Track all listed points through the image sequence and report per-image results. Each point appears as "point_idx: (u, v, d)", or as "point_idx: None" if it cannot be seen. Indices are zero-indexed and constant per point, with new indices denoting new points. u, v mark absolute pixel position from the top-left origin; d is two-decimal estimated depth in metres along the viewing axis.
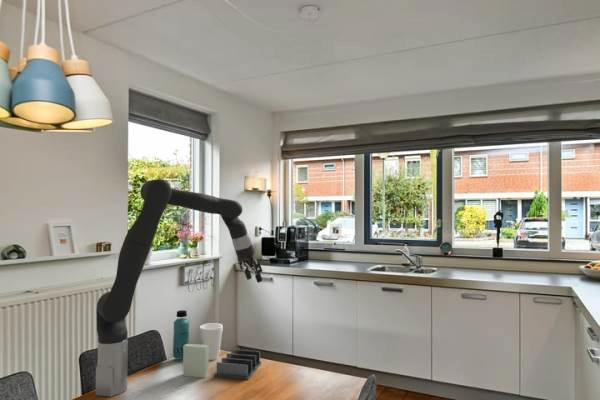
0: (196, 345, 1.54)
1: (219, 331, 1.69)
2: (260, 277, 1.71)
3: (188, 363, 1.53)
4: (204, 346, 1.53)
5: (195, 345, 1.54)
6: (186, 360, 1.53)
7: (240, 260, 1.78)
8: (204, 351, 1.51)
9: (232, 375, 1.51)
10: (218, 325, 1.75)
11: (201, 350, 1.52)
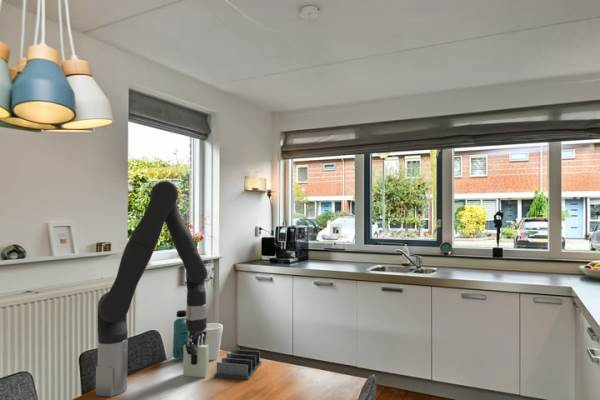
0: None
1: (219, 331, 1.69)
2: (193, 360, 1.51)
3: (188, 363, 1.53)
4: (204, 346, 1.53)
5: (195, 345, 1.54)
6: (186, 360, 1.53)
7: None
8: (204, 350, 1.51)
9: (232, 375, 1.51)
10: (218, 325, 1.75)
11: (201, 350, 1.52)
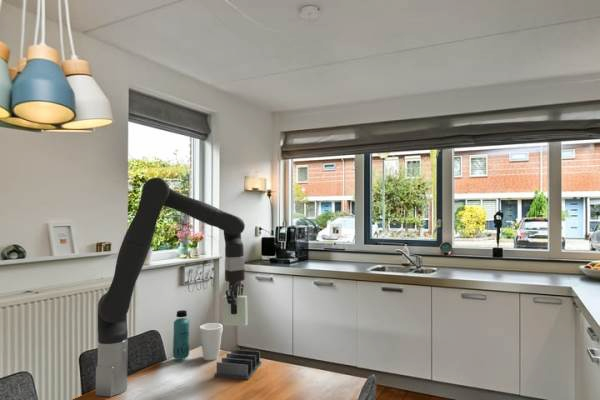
0: None
1: (219, 331, 1.69)
2: (233, 309, 1.56)
3: (228, 313, 1.58)
4: (243, 296, 1.58)
5: None
6: (226, 310, 1.58)
7: None
8: (243, 300, 1.56)
9: (232, 375, 1.51)
10: (218, 325, 1.75)
11: (241, 300, 1.57)
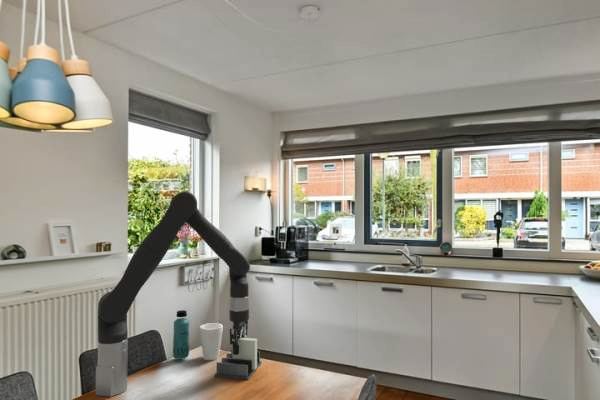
0: (245, 338, 1.58)
1: (219, 331, 1.69)
2: (235, 350, 1.54)
3: (237, 356, 1.57)
4: (253, 339, 1.57)
5: (244, 338, 1.58)
6: None
7: None
8: (253, 344, 1.56)
9: (232, 375, 1.51)
10: (218, 325, 1.75)
11: (250, 344, 1.56)
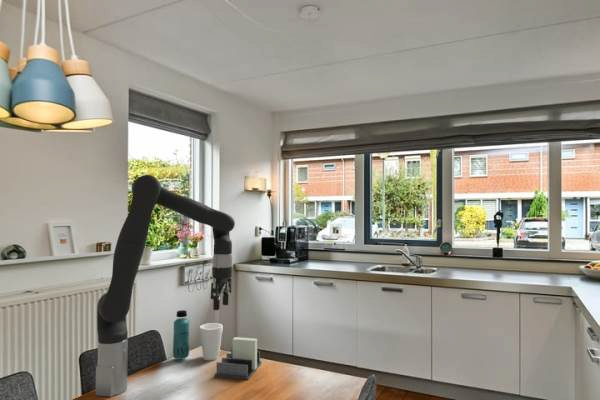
0: (245, 338, 1.58)
1: (219, 331, 1.69)
2: (215, 305, 1.54)
3: (237, 356, 1.57)
4: (253, 339, 1.57)
5: (244, 338, 1.58)
6: (235, 353, 1.57)
7: None
8: (253, 344, 1.56)
9: (232, 375, 1.51)
10: (218, 325, 1.75)
11: (250, 344, 1.56)
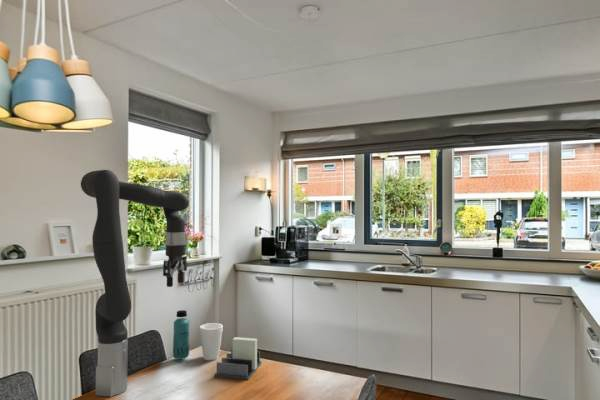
0: (245, 338, 1.58)
1: (219, 331, 1.69)
2: (169, 281, 1.57)
3: (237, 356, 1.57)
4: (253, 339, 1.57)
5: (244, 338, 1.58)
6: (235, 353, 1.57)
7: None
8: (253, 344, 1.56)
9: (232, 375, 1.51)
10: (218, 325, 1.75)
11: (250, 344, 1.56)
